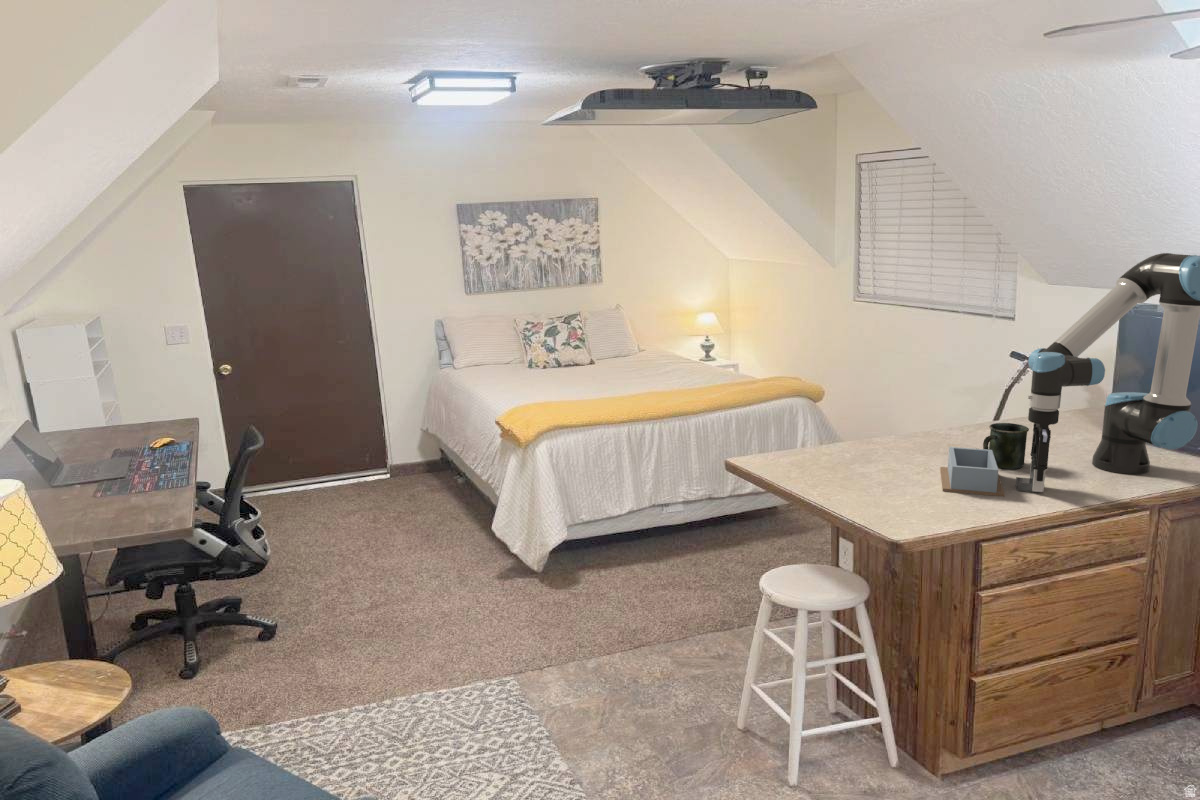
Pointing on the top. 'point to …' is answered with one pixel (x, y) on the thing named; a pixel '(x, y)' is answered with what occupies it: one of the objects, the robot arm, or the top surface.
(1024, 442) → the mug
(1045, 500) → the top surface
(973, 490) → the box
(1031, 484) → the brushed grey block
